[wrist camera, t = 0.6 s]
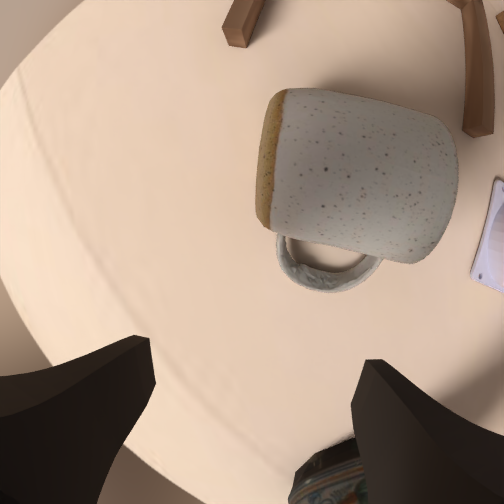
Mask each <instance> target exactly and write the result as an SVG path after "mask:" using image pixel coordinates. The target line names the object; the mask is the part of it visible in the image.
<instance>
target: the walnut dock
mask: <svg viewBox="0 0 504 504" xmlns="http://www.w3.org/2000/svg"><path fill="white" fill-rule="evenodd" d="M265 1H266V0H234V2H233V4H232V6H231V8H230V10H229V12H228V15H227V17H226V19H225V21H224V23H223V26H222V30H223V32H224V34H225V37H226V39H227V42H228V44H229V46H234V47H241V48H247V45H248V43H249V40H250V38H251V35H252V33H253V30H254V27H255V25H256V22H257V20H258V18H259V15H260V13H261V10H262V8H263V6H264V3H265ZM447 1H448V2H450V3H452V4H453V5H455V6H456V7H458V8H459V9H461V12H462V19H463V28H464V39H465V58H466V88H465V108H464V120H463V129H462V131H464V132H465V133H467V134H468V135H470V136H471V137H473V138H475V137H480V136H485V135H490V134H493V132H494V109H495V93H494V71H493V59H492V50H491V42H490V36H489V30H488V24H487V19H486V15H485V10H484V6H483V2H482V0H447Z"/></svg>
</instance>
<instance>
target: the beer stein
mask: <svg viewBox="0 0 504 504" xmlns="http://www.w3.org/2000/svg"><path fill="white" fill-rule="evenodd" d="M288 503H289V504H368V491H367V484H366V478H365V474H364V470H363V465H362V461H361V457H360V453H359V449H358V445H357V441H356V438H354V439H349V440H347V441H345V442H343V443H340V444H338V445H335V446H333V447H331V448H328V449H325V450H323V451H320V452H318V453H315V454H314V455H313V456H312V457H311V458H310V459H309V460H308V461H307V462H306V463H305V464H304V465H303V466H301V467H300V468H299V469H298V470H297V471H296V472H295V477H294V482H293V487H292V490H291V492H290V495H289V497H288Z"/></svg>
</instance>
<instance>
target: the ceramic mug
mask: <svg viewBox="0 0 504 504" xmlns="http://www.w3.org/2000/svg"><path fill="white" fill-rule="evenodd" d="M457 188H458V159H457V153H456V146H455V143H454V140H453V138H452V135H451V133H450V131H449V130H448V128H447V127H446V126H445V125H444V123H443V122H442V121H440V120H439V119H438V118H436V117H434V116H432V115H429V114H425V113H422V112H419V111H416V110H412V109H408V108H405V107H402V106H398V105H395V104H391V103H387V102H383V101H379V100H375V99H371V98H365V97H361V96H356V95H350V94H344V93H339V92H335V91H329V90H323V89H316V88H293V89H285V90H282V91H280V92H278V93H276V94H275V95H274V96H273V98H272V99H271V100H270V102H269V105H268V108H267V111H266V115H265V119H264V124H263V130H262V136H261V141H260V146H259V156H258V165H257V177H256V196H255V205H256V215H257V218H258V219H259V220H260V222H261V223H262V224H263V226H264V227H266V228H267V229H269V230H271V231H273V232H276V233H277V239H276V248H277V258H278V261H279V265H280V267H281V269H282V270H283V272H284V273H285V274H286V275H287V276H288V277H289V278H290V279H291V280H292V281H293V282H295V283H297V284H299V285H300V286H303V287H305V288H307V289H310V290H314V291H319V292H325V293H335V292H342V291H346V290H349V289H351V288H353V287H355V286H357V285H359V284H360V283H362V282H363V281H365V280H366V279H367V278H368V277H369V276H370V275H371V274H372V273H373V272H374V271H375V270H376V268H377V267H378V266H379V265H380V263H381V261H382V260H383V259H387V260H391V261H395V262H400V263H406V264H413V263H416V262H419V261H421V260H423V259H424V258H425V257H426V256H428V255H429V254H430V253H431V252H432V250H433V249H434V248H435V247H436V245H437V244H438V242H439V241H440V239H441V237H442V236H443V234H444V232H445V230H446V228H447V226H448V223H449V221H450V219H451V215H452V211H453V208H454V205H455V200H456V195H457ZM285 236H286V237H290V238H293V239H297V240H302V241H307V242H312V243H318V244H324V245H329V246H334V247H338V248H342V249H346V250H350V251H354V252H358V253H362V254H367V256H366V257H365V258H364V259H363V260H362V261H361V262H360V263H359V264H358V265H357V266H355V267H353V268H352V269H350V270H347V271H345V272H341V273H338V272H337V273H329V272H325V271H321V270H318V269H314V268H311V267H308V266H307V265H306V264H298V263H297V262H296V261H295V260H293V259H292V257H291V255H290V254H289V252H288V250H287V247H286V241H285Z"/></svg>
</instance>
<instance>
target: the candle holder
mask: <svg viewBox="0 0 504 504" xmlns="http://www.w3.org/2000/svg"><path fill="white" fill-rule="evenodd" d="M496 18H497V21H498V23H499V25H500V27H501V29H502V31H503V33H504V11H502V12H501V13H499V14H498V15H496Z"/></svg>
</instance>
